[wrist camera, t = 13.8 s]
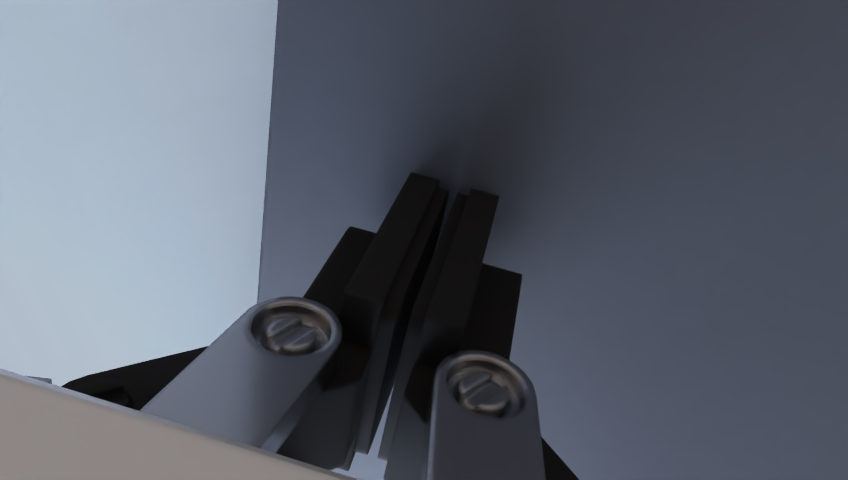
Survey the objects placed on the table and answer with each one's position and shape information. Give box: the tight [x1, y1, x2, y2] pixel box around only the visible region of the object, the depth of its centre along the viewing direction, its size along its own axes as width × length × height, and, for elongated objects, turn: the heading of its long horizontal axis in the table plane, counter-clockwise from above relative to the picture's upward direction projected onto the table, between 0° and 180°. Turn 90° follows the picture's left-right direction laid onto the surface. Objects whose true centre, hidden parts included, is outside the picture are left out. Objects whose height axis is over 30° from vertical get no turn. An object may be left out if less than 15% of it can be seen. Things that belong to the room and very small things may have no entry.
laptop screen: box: [257, 0, 848, 480], centre depth 13 cm, size 21×30×1 cm
